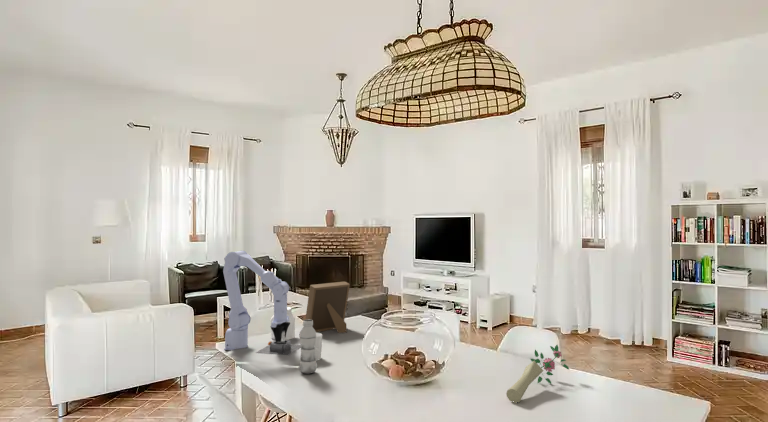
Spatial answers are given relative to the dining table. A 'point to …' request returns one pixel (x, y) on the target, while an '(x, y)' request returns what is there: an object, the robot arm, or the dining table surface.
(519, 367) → the dining table surface
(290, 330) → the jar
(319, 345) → the white cup
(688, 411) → the dining table surface
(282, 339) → the silver metal canister
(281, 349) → the stand base
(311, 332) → the plastic bottle
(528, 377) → the flower vase
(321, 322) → the photo frame
